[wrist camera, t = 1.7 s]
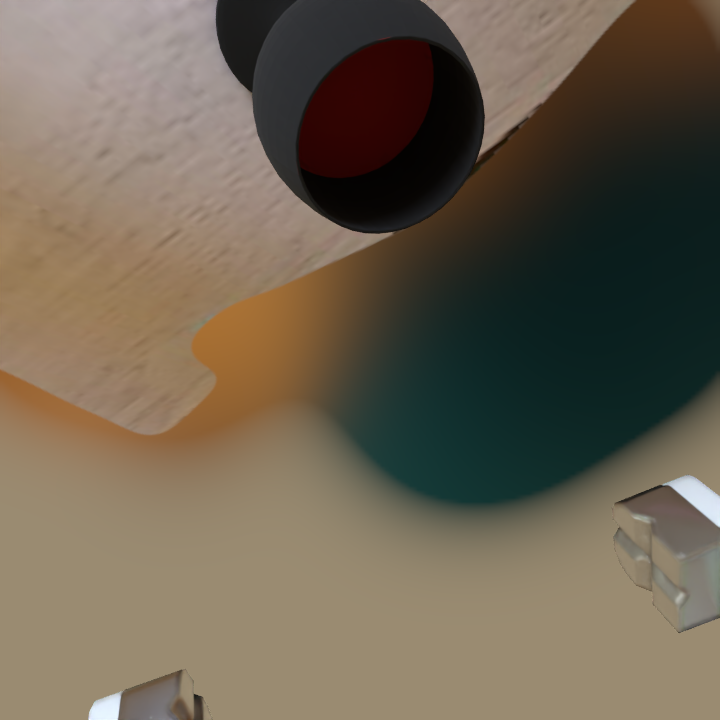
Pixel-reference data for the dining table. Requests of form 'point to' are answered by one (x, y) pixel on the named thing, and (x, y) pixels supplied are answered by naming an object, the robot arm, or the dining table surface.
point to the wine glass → (358, 104)
